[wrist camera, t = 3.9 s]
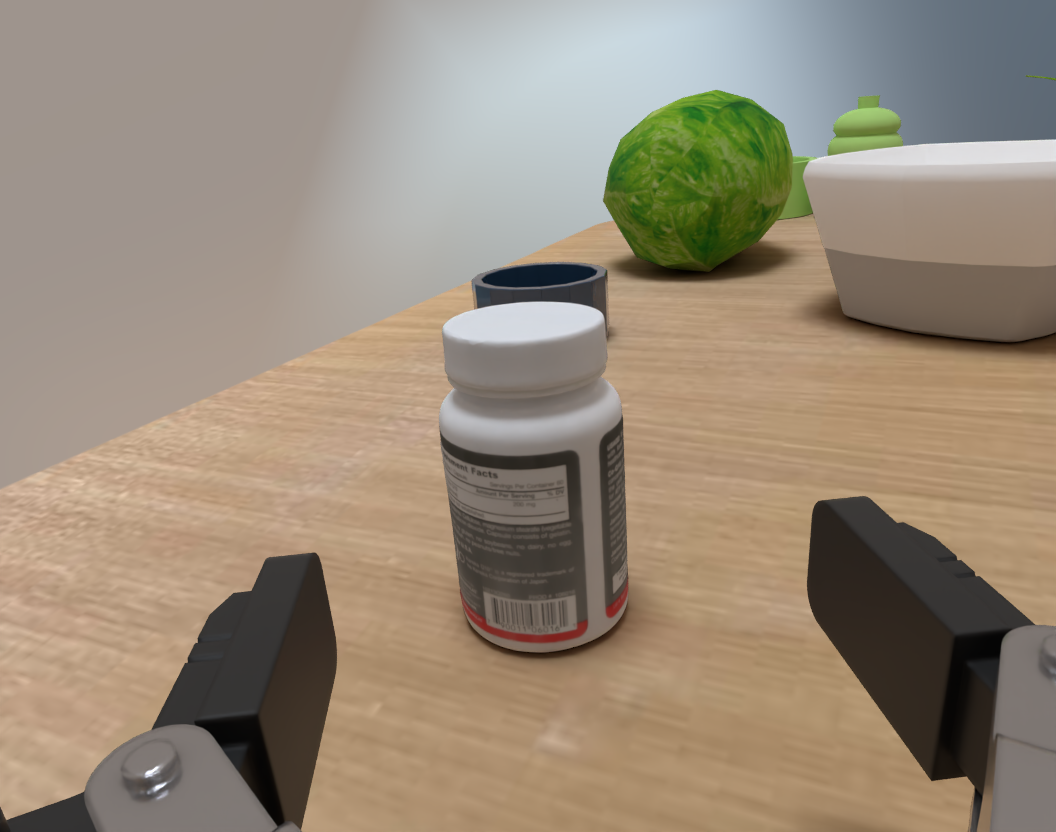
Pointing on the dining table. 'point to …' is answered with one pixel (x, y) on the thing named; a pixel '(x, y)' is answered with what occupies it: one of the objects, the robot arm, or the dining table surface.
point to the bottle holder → (544, 285)
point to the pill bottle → (535, 474)
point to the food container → (847, 146)
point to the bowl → (942, 236)
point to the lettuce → (699, 180)
